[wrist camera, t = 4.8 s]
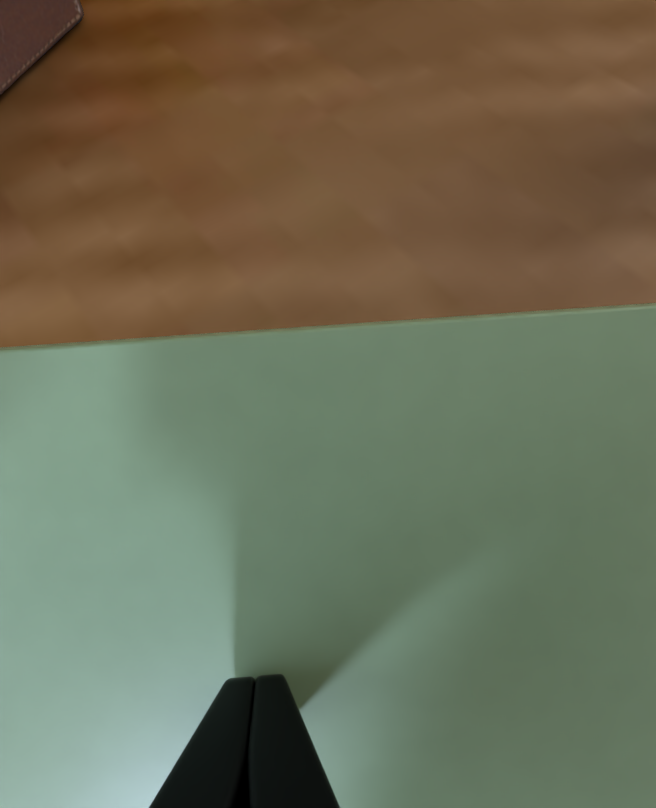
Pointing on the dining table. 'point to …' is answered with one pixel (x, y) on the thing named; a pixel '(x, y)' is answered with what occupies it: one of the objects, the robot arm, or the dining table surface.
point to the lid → (337, 556)
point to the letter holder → (31, 32)
